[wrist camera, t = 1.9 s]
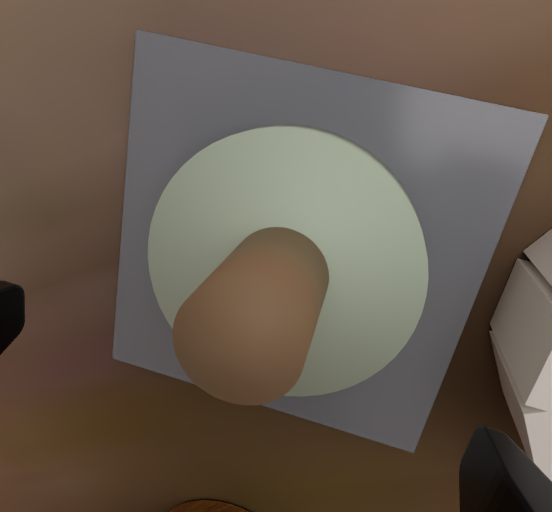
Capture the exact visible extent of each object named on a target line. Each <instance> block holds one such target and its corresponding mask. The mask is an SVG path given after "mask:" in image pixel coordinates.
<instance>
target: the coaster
mask: <svg viewBox="0 0 552 512" xmlns="http://www.w3.org/2000/svg"><path fill="white" fill-rule="evenodd" d="M548 116H549V115H545V114H540V113H536V112H531V111H526V110H521V109H516V108H512V107H507V106H502V105H497V104H492V103H488V102H483V101H478V100H473V99H468V98H464V97H459V96H454V95H449V94H444V93H440V92H435V91H430V90H425V89H420V88H416V87H411V86H406V85H401V84H396V83H392V82H387V81H382V80H377V79H372V78H368V77H363V76H358V75H353V74H348V73H344V72H339V71H334V70H329V69H324V68H320V67H315V66H310V65H305V64H300V63H296V62H291V61H286V60H281V59H277V58H272V57H267V56H262V55H257V54H253V53H248V52H243V51H238V50H233V49H229V48H224V47H219V46H214V45H209V44H205V43H200V42H195V41H190V40H185V39H181V38H176V37H171V36H166V35H161V34H157V33H152V32H147V31H142V30H137V29H136V40H135V54H134V67H133V81H132V95H131V108H130V122H129V136H128V150H127V163H126V177H125V191H124V204H123V218H122V232H121V246H120V259H119V273H118V287H117V300H116V314H115V328H114V341H113V355H112V358H113V359H116V360H119V361H122V362H125V363H129V364H132V365H135V366H138V367H141V368H145V369H148V370H151V371H154V372H157V373H160V374H164V375H167V376H170V377H173V378H176V379H179V380H183V381H186V382H189V383H192V384H195V383H194V382H193V381H192V380H191V379H190V378H189V377H188V375H187V374H186V373H185V371H184V370H183V368H182V367H181V365H180V363H179V361H178V359H177V356H176V354H175V351H174V346H173V339H172V330H173V329H172V328H171V326H170V325H169V323H168V321H167V320H166V318H165V316H164V314H163V312H162V310H161V308H160V306H159V304H158V301H157V298H156V296H155V293H154V290H153V286H152V282H151V278H150V273H149V264H148V238H149V231H150V225H151V221H152V218H153V214H154V211H155V208H156V206H157V203H158V201H159V199H160V197H161V195H162V193H163V191H164V189H165V188H166V186H167V185H168V183H169V182H170V180H171V179H172V177H173V176H174V175H175V174H176V173H177V172H178V170H179V169H180V168H181V167H182V166H183V165H184V164H185V163H186V162H187V161H188V160H190V159H191V158H192V157H193V156H194V155H195V154H197V153H198V152H200V151H201V150H203V149H204V148H206V147H208V146H209V145H211V144H212V143H214V142H217V141H219V140H221V139H224V138H226V137H228V136H230V135H234V134H237V133H241V132H244V131H248V130H251V129H255V128H259V127H264V126H272V125H302V126H309V127H315V128H319V129H323V130H326V131H329V132H333V133H336V134H338V135H340V136H342V137H345V138H347V139H349V140H351V141H353V142H355V143H356V144H358V145H360V146H361V147H363V148H364V149H366V150H368V151H369V152H370V153H372V154H373V155H374V156H375V157H376V158H378V159H379V160H380V161H381V162H382V163H384V164H385V166H386V167H387V168H388V169H389V170H390V171H391V172H392V173H393V174H394V175H395V176H396V178H397V179H398V180H399V182H400V183H401V185H402V186H403V188H404V189H405V191H406V192H407V194H408V196H409V198H410V200H411V202H412V204H413V206H414V208H415V210H416V212H417V215H418V218H419V221H420V224H421V227H422V232H423V236H424V240H425V245H426V251H427V256H428V274H429V279H428V288H427V296H426V300H425V304H424V308H423V311H422V314H421V317H420V319H419V321H418V324H417V326H416V328H415V330H414V332H413V334H412V335H411V337H410V338H409V340H408V342H407V343H406V345H405V346H404V347H403V348H402V350H401V351H400V352H399V353H398V354H397V356H396V357H395V358H394V359H393V360H392V361H390V362H389V363H388V364H387V365H386V366H385V367H384V368H383V369H381V370H380V371H378V372H377V373H375V374H374V375H372V376H371V377H370V378H368V379H366V380H364V381H362V382H360V383H358V384H356V385H354V386H351V387H349V388H346V389H343V390H340V391H337V392H332V393H328V394H323V395H315V396H305V397H304V396H282V397H280V398H279V399H277V400H275V401H272V402H269V403H266V404H262V406H265V407H268V408H272V409H275V410H278V411H281V412H284V413H287V414H291V415H294V416H297V417H300V418H303V419H306V420H310V421H313V422H316V423H319V424H322V425H326V426H329V427H332V428H335V429H338V430H341V431H345V432H348V433H351V434H354V435H357V436H360V437H364V438H367V439H370V440H373V441H376V442H380V443H383V444H386V445H389V446H392V447H395V448H399V449H402V450H405V451H408V452H411V453H414V451H415V448H416V446H417V443H418V441H419V438H420V436H421V433H422V431H423V428H424V426H425V423H426V421H427V418H428V416H429V413H430V411H431V408H432V406H433V403H434V401H435V398H436V396H437V393H438V391H439V388H440V386H441V383H442V381H443V378H444V376H445V373H446V371H447V368H448V366H449V363H450V361H451V358H452V356H453V353H454V351H455V348H456V346H457V343H458V341H459V338H460V336H461V333H462V331H463V328H464V326H465V323H466V321H467V318H468V316H469V313H470V311H471V308H472V306H473V303H474V301H475V298H476V296H477V293H478V291H479V288H480V286H481V283H482V281H483V278H484V276H485V273H486V271H487V268H488V266H489V263H490V261H491V258H492V256H493V253H494V251H495V248H496V246H497V243H498V241H499V238H500V236H501V233H502V231H503V228H504V226H505V223H506V221H507V218H508V216H509V213H510V211H511V208H512V206H513V203H514V201H515V198H516V196H517V193H518V191H519V188H520V186H521V183H522V181H523V178H524V176H525V173H526V171H527V168H528V166H529V163H530V161H531V158H532V156H533V153H534V151H535V148H536V146H537V143H538V141H539V138H540V136H541V133H542V131H543V128H544V126H545V123H546V121H547V118H548ZM195 385H196V384H195Z"/></svg>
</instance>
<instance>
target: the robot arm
mask: <svg viewBox="0 0 552 512" xmlns="http://www.w3.org/2000/svg"><path fill="white" fill-rule="evenodd" d="M24 323H25V296H24V290H23V288H22V287H21V286H19V285H16V284H13V283H10V282H6V281H0V355H1V354H2V353H3V351H4V350H5V349H6V348H7V347H8V346H9V345H10V344H11V343H12V342H13V340H14V339H15V338H16V337H17V336H18V335H19V334H20V332H21V331H22V329H23V326H24ZM459 489H460V512H552V481H551V480H550V479H549V478H548V477H547V476H546V475H545V474H544V473H543V472H542V471H541V470H540V469H539V468H538V467H537V465H536V464H535V463H534V462H533V461H532V460H531V459H530V458H529V457H528V456H527V455H526V454H525V453H524V452H523V451H522V450H521V449H520V448H519V447H518V446H517V445H516V444H515V443H514V442H513V441H512V439H511V438H510V437H509V436H508V435H507V434H506V433H505V432H503V431H501V430H497V429H494V428H491V427H487V426H484V425H481V426H478V427H477V428H476V430H475V431H474V433H473V436H472V438H471V440H470V442H469V444H468V447H467V449H466V451H465V453H464V455H463V458H462V460H461V464H460V470H459Z"/></svg>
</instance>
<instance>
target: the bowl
mask: <svg viewBox="0 0 552 512" xmlns="http://www.w3.org/2000/svg"><path fill="white" fill-rule="evenodd" d="M523 252H524V253H525V254H526V256H527V257H528V258H529V259H530V260H531V262H530V261H526V260H522V259H518V258H517V260H516V262H515V265H514V267H513V269H512V272H511V274H510V277H509V279H508V281H507V284H506V286H505V288H504V291H503V293H502V295H501V298H500V300H499V303H498V305H497V307H496V310H495V312H494V314H493V317H492V319H491V322H490V325H491V328H492V331H489V333H490V338H491V342H492V347H493V351H494V355H495V360H496V364H497V369H498V373H499V378H500V382H501V386H502V391H503V394H504V396H505V399H506V402H507V404H508V407H509V409H510V412H511V415H512V417H513V420H514V423H515V425H516V428H517V431H518V433H519V436H520V439H521V441H522V444H523V447H524V449H525V452H526V455H527V456H528V457H529V458H530V459H531V460H532V461H533V462H534V463H535V464H536V465H537V467H538V468H539V469H540V470H541V471H542V472H543V473H544V474H545V475H546V476H547V477H548V478H549V479H550V480H551V481H552V229H551V230H549V231H548V232H547V233H546V234H544V235H543V236H542V237H540V238H539V239H538V240H537V241H535V242H534V243H533V244H531V245H530V246H529V247H528V248H526V249H525V250H524V251H523Z"/></svg>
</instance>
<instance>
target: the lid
mask: <svg viewBox="0 0 552 512" xmlns="http://www.w3.org/2000/svg"><path fill="white" fill-rule="evenodd" d="M148 264H149V273H150V278H151V282H152V286H153V290H154V293H155V296H156V298H157V301H158V304H159V306H160V308H161V310H162V312H163V314H164V316H165V318H166V320H167V321H168V323H169V325H170V326H171V328H172V329H173V330H172V339H173V346H174V351H175V354H176V356H177V359H178V361H179V363H180V365H181V367H182V368H183V370H184V371H185V373H186V374H187V375H188V377H189V378H190V379H191V380H192V381H193V382H194V383H195V384H196V385H197V386H198V387H200V388H201V389H202V390H203V391H205V392H206V393H208V394H210V395H211V396H213V397H215V398H217V399H219V400H222V401H225V402H228V403H232V404H236V405H244V406H254V405H262V404H266V403H269V402H272V401H275V400H277V399H279V398H280V397H282V396H304V397H305V396H315V395H323V394H328V393H332V392H337V391H340V390H343V389H346V388H349V387H351V386H354V385H356V384H358V383H360V382H362V381H364V380H366V379H368V378H370V377H371V376H372V375H374V374H375V373H377V372H378V371H380V370H381V369H383V368H384V367H385V366H386V365H387V364H388V363H389V362H390V361H392V360H393V359H394V358H395V357H396V356H397V354H398V353H399V352H400V351H401V350H402V348H403V347H404V346H405V345H406V343H407V342H408V340H409V338H410V337H411V335H412V334H413V332H414V330H415V328H416V326H417V324H418V321H419V319H420V317H421V314H422V311H423V308H424V304H425V300H426V296H427V288H428V279H429V274H428V256H427V251H426V245H425V240H424V236H423V232H422V227H421V224H420V221H419V218H418V215H417V212H416V210H415V208H414V206H413V204H412V202H411V200H410V198H409V196H408V194H407V192H406V191H405V189H404V188H403V186H402V185H401V183H400V182H399V180H398V179H397V178H396V176H395V175H394V174H393V173H392V172H391V171H390V170H389V169H388V168H387V167H386V166H385V164H384V163H382V162H381V161H380V160H379V159H378V158H376V157H375V156H374V155H373V154H372V153H370V152H369V151H368V150H366V149H364V148H363V147H361V146H360V145H358V144H356V143H355V142H353V141H351V140H349V139H347V138H345V137H342V136H340V135H338V134H336V133H333V132H329V131H326V130H323V129H319V128H315V127H309V126H302V125H272V126H264V127H259V128H255V129H251V130H248V131H244V132H241V133H237V134H234V135H230V136H228V137H226V138H224V139H221V140H219V141H217V142H214V143H212V144H211V145H209V146H208V147H206V148H204V149H203V150H201V151H200V152H198V153H197V154H195V155H194V156H193V157H192V158H191V159H190V160H188V161H187V162H186V163H185V164H184V165H183V166H182V167H181V168H180V169H179V170H178V172H177V173H176V174H175V175H174V176H173V177H172V179H171V180H170V182H169V183H168V185H167V186H166V188H165V189H164V191H163V193H162V195H161V197H160V199H159V201H158V203H157V206H156V208H155V211H154V214H153V218H152V221H151V225H150V231H149V238H148Z"/></svg>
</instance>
